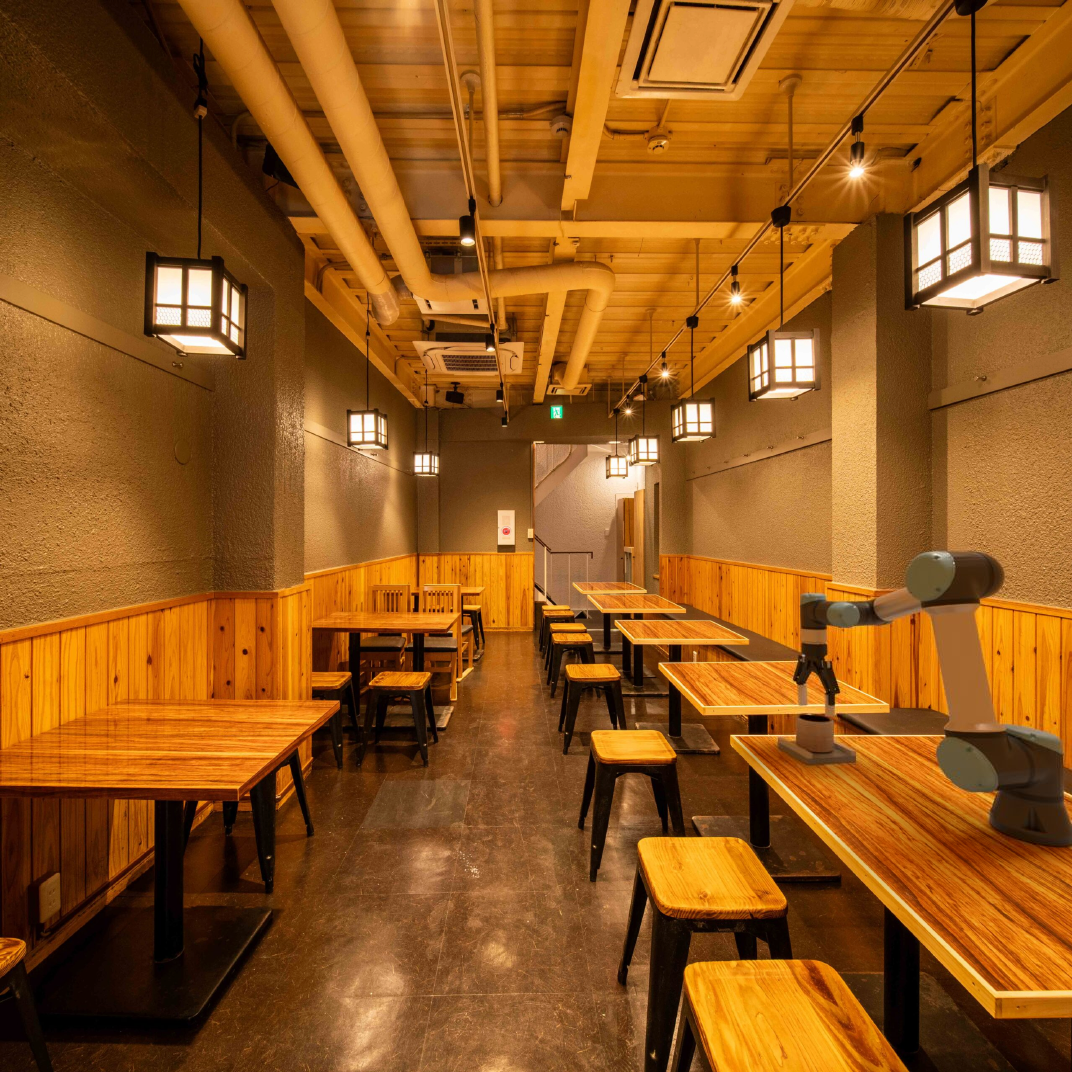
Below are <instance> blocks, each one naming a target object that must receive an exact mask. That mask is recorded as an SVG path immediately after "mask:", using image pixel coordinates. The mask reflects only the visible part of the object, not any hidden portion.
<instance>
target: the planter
mask: <svg viewBox="0 0 1072 1072" xmlns="http://www.w3.org/2000/svg"><path fill="white" fill-rule="evenodd" d="M834 731H835V730H834V719H833V718H832V716H825V714H820V713H811V712H810V713H809V712H804V713H803V712H801V713H798V714H796V715H795V741H796V745H797V746H799V747H801V748H803V749H805V750H807V751H808V752H812V753H829V752H831V751H833V750H834V741H835V738H834V737H835V734H834V733H835V732H834Z"/></svg>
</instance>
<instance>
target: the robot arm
mask: <svg viewBox="0 0 1072 1072" xmlns="http://www.w3.org/2000/svg"><path fill="white" fill-rule="evenodd" d="M1005 578H1006V574H1005V570H1004V567H1003V566H1002V564H1001V563H1000V562H999V560H997V559H996V558H995V557H993V556H992V555H989V554H988V553H985V552H980V551H975V550H973V551H972V550H970V551H961V550H960V551H959V550H958V551H956V550H955V551H954V550H952V551H951V550H950V551H949V550H937V551H936V550H935V551H927V552H922V553H920V554H918V555H916V556H915V557H914V558H912V560H911V561H910V564H908V565H907V567H906V570H905V575H904V583H905V584H904V585H905V587H903V588H899V589H897V590H895V591H892V592H889V593H886V594H883V595H880V596H878V597H876V598H872V599H869V600H862V601H861V600H855V601H854V600H853V601H850V600H847V601H845V600H844V601H842V600H841V601H834V600H833V601H832V600H827V596H826V594H824V593H820V592H818V593H817V592H814V593H813V592H809V593H808V592H805V593H802V594H800V600H799V602H800V603H799V613H800V614H799V615H800V616H799V617H800V640H801V641H802V642H801V643H800V647H801V648H800V649H801V651H800V652H801V654H798V655H797V656H798V657H797V663H796V667H795V670H794V673H793V677H792V681H793V682H795V683H796V685H797V702H798V706H800V707H801V706H802V707H803V706H808V683H807V681H808V679H809V677H810V676H811V674H812V673H814V674H815V675H816V676H817V677H818V678H819V680H820V682H821V684H822V686H823V689H824V691H825V693H824V715H825V716H828V717H835V716H836V710H835V705H836V695H839V694H841V689H840V686H839V684H838V680H837V677H836V674H835V671H834V668H833V667H834V666H833V661H832V660H826V658H825V657H826V656H828V655H829V653H828V652H829V651H828V647H829V646H828V643H827V642H828V633H827V631H828V626H830V627H834V628H835V627H836V628H838V629H851V628H853V627H865V626H867V627H868V626H876V627H877V626H878V627H881V626H886V625H890V624H892V623H893V622H894V621H895V620H897V619H901V618H904V617H907V616H911V615H914V614H918V613H922V612H924V613H926V614H927V615H928V616H929V617H930V620H931V624H932V625H931V626H932V630H933V636H934V641H935V646H936V647H935V648H936V653H937V657H938V662H939V663H938V664H939V668H940V673H941V678H942V684H943V685H942V686H943V689H944V695H945V700H946V705H947V710H948V716H949V721H948V722H947V723H946V724H945V725H944V726H943V731H944V737H945V738H943V739H942V740H941V741H939V743H938V746H937V747H936V749H935V750H936V752H935V753H936V754H935V755H936V760H937V763H938V766H939V768H940V770H941V772H942V773H943V774H944V776H945V777H946V778H947V779H949V780H950V782H951V784H953V786H955V787H957V788H959V789H961V790H962V791H965V792H968V793H977V794H978V793H984V794H989V793H994V792H997V793H996V795H995V797H994V800H993V802H992V806H991V808H990V809H989V811H988V812H989V817H988V818H989V821H988V822H989V824H990V825H991V826H992V827H993V828H994V829H996V831H999V832H1001V833H1002V834H1005V835H1007V836H1009V837H1012V838H1015V839H1018V840H1021V841H1025V842H1027V843H1028V842H1029V843H1032V844H1035V845H1042V846H1048V847H1050V846H1051V847H1069V846H1072V822H1071V819H1070V816H1069V813H1068V811H1067V808H1066V805H1065V781H1064V779H1065V778H1064V776H1065V775H1064V771H1065V770H1064V756H1065V753H1064V748H1063V742H1062V739H1061V738H1059V737H1058V736H1057V735H1055V734H1053V733H1050V732H1048V731H1043V730H1041V729H1036V728H1032V727H1028V726H1022V725H1017V724H1010V723H1000V722H999V721H998V720H997V719H996V718H997V717H996V713H995V709H994V705H993V704H994V702H993V699H992V694H991V689H990V684H989V679H988V678H989V677H988V675H987V669H986V664H985V659H984V655H983V654H984V653H983V650H982V644H981V639H980V634H979V630H978V625H977V620H976V615H975V613H976V611H978V609H979V608H980V607H981V606H982V604H981V601H980V600H983V599H988V598H990V597H992V596H994V595H996V594H997V593H998V592H999V591H1000V590H1001V589H1002V588H1003V585H1004V584H1005Z"/></svg>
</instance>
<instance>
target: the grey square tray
mask: <svg viewBox="0 0 1072 1072" xmlns="http://www.w3.org/2000/svg"><path fill="white" fill-rule="evenodd" d="M777 748H778V750H781V751H783V752H784V753H786V754H788V755H789V756H791V757H792V758H794V759H796V760H798V761H799V762H801V763H802V764H804V765H807V766H819V765H835V764H849V763H850V764H851V763H857V750H854V749H852V748H850V747H848V746H847V745H844V744H842V743H841V742H839V741H836V740H834V750H833V751H831V752H829V753H812V752H808V751H807V750H805V749H803V748H801V747H799V746H797V745H796V740H788V739H786V738H785V737H782V736H778V737H777Z"/></svg>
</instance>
